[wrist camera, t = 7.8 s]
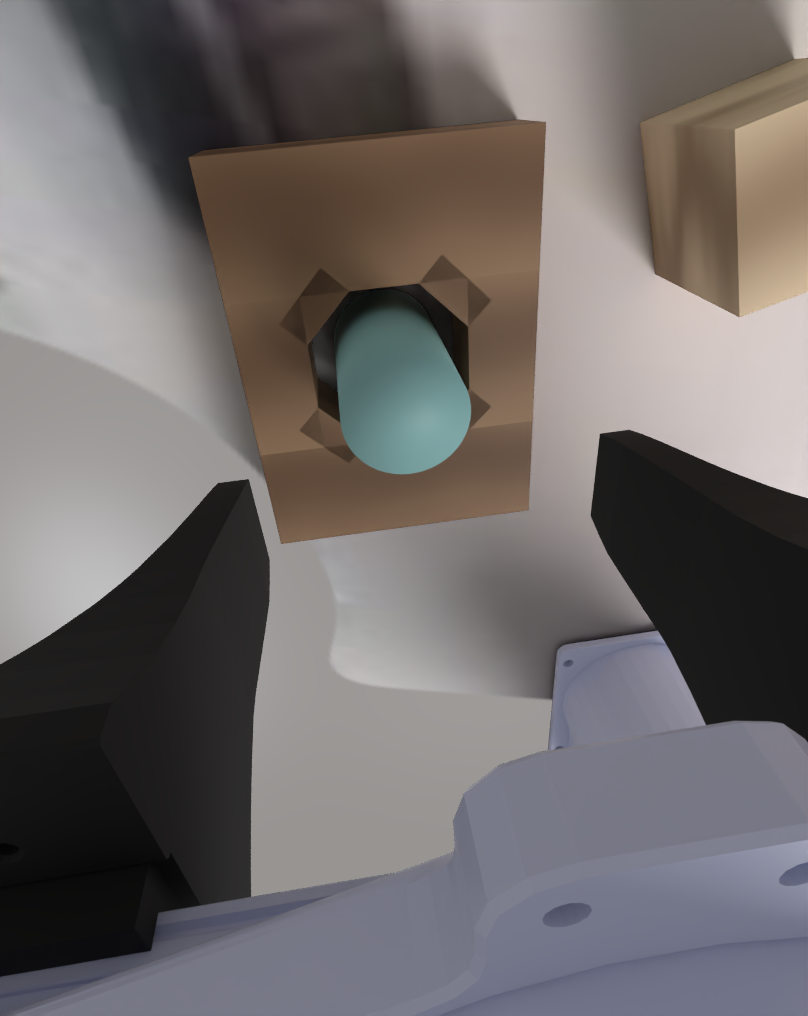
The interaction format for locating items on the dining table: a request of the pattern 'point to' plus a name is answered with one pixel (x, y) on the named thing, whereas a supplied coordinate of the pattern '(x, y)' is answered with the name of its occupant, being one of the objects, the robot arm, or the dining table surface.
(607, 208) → the dining table surface
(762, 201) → the wooden cube block
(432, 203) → the socket block
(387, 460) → the teal dowel
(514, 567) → the dining table surface
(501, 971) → the robot arm
